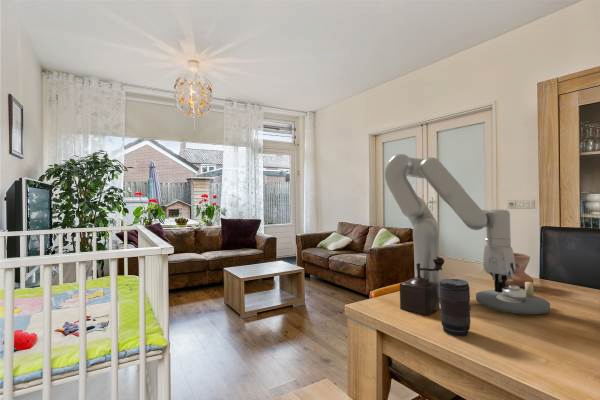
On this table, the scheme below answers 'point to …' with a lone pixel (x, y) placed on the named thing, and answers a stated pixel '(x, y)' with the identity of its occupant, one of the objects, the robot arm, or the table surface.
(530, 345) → the table surface
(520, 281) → the ceramic jug
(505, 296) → the cover
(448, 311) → the camera lens
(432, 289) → the manual coffee grinder
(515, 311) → the turntable
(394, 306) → the table surface
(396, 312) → the table surface
